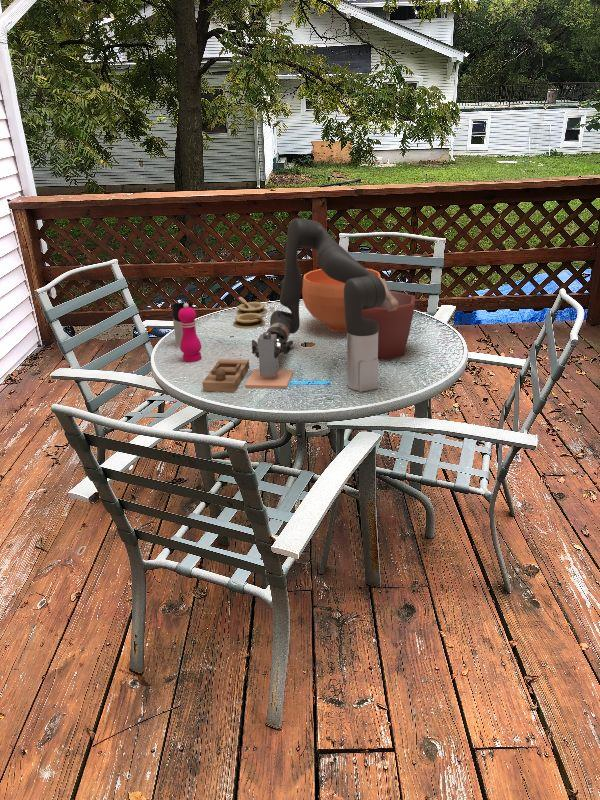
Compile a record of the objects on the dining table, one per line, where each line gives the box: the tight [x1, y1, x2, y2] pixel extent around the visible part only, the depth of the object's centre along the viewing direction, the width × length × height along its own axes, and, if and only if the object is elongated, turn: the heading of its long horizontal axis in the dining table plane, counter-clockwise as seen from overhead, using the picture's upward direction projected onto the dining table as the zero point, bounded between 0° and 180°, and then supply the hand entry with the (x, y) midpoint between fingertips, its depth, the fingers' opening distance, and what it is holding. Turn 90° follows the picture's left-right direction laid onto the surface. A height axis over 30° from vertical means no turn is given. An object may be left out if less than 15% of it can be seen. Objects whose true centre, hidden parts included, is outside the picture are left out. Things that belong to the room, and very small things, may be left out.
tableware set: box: [229, 296, 275, 330], centre depth 262 cm, size 30×20×6 cm, turn 1°
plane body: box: [202, 358, 250, 393], centre depth 200 cm, size 20×10×6 cm, turn 172°
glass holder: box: [171, 301, 197, 348], centre depth 229 cm, size 9×14×15 cm, turn 28°
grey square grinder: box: [256, 331, 280, 376], centre depth 195 cm, size 5×5×13 cm
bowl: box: [301, 267, 382, 333], centre depth 241 cm, size 30×30×20 cm
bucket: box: [362, 278, 416, 361], centre depth 213 cm, size 24×22×25 cm
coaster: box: [244, 368, 294, 389], centre depth 199 cm, size 13×13×1 cm
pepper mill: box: [178, 303, 202, 363], centre depth 215 cm, size 7×7×20 cm
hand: (266, 355), depth 193 cm, fingers closed on grey square grinder, 5 cm apart
